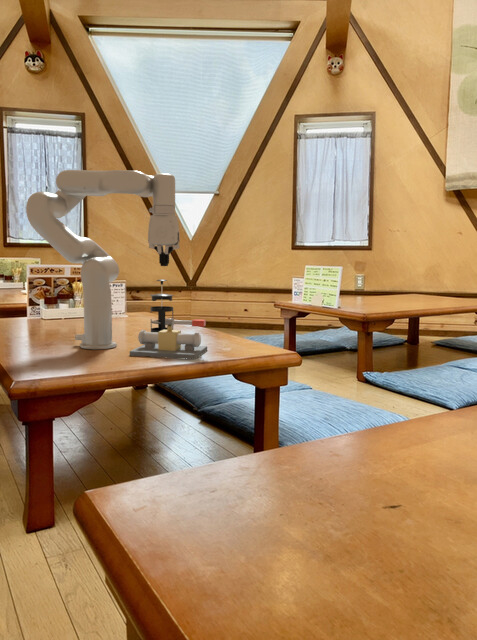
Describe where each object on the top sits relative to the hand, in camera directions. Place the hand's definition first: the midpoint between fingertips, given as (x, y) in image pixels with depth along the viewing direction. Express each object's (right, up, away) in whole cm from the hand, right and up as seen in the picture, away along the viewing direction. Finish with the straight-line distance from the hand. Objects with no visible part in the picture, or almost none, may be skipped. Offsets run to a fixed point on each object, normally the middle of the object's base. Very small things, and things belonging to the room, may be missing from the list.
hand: (164, 265), depth 181 cm
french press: (-5, -26, +30) cm, 40 cm away
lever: (+8, -20, -5) cm, 22 cm away
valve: (+2, -30, -3) cm, 30 cm away
